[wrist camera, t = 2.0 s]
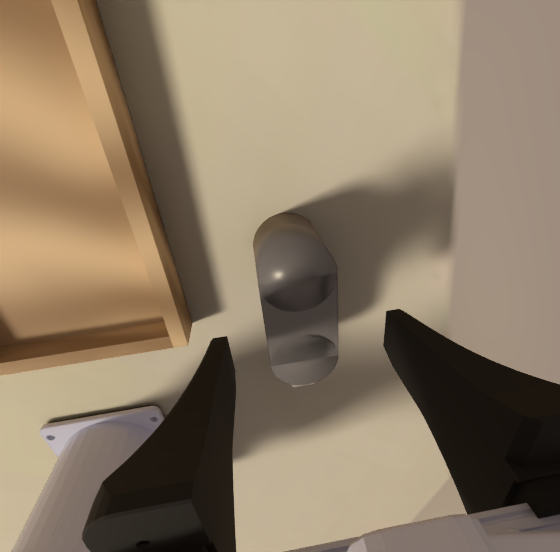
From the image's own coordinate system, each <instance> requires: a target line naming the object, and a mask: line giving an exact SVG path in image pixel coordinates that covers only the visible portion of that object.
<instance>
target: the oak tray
mask: <svg viewBox="0 0 560 552" xmlns="http://www.w3.org/2000/svg"><path fill="white" fill-rule="evenodd" d="M191 327H192V321H191V318H190V314H189V311H188V307H187V304H186V301H185V297H184V294H183V291H182V287H181V284H180V281H179V277H178V274H177V271H176V267H175V264H174V261H173V257H172V254H171V251H170V247H169V244H168V241H167V237H166V234H165V230H164V227H163V224H162V220H161V217H160V214H159V210H158V207H157V204H156V200H155V197H154V194H153V190H152V187H151V184H150V180H149V177H148V174H147V170H146V167H145V164H144V160H143V157H142V154H141V150H140V147H139V143H138V140H137V137H136V133H135V130H134V127H133V123H132V120H131V117H130V113H129V110H128V107H127V103H126V100H125V97H124V93H123V90H122V87H121V83H120V80H119V77H118V73H117V70H116V67H115V63H114V60H113V56H112V53H111V50H110V46H109V43H108V40H107V36H106V33H105V30H104V26H103V23H102V20H101V16H100V13H99V10H98V6H97V3H96V0H0V375H6V374H13V373H19V372H25V371H31V370H37V369H44V368H50V367H56V366H62V365H68V364H75V363H81V362H87V361H93V360H99V359H106V358H112V357H118V356H124V355H130V354H137V353H143V352H149V351H155V350H161V349H168V348H174V347H180V346H186V345H188V343H189V337H190V332H191Z"/></svg>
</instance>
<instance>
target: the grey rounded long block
mask: <svg viewBox="0 0 560 552" xmlns="http://www.w3.org/2000/svg"><path fill="white" fill-rule="evenodd" d="M253 248H254V256H255V263H256V271H257V278H258V286H259V292H260V299H261V305H262V312H263V318H264V324H265V331H266V337H267V344H268V350H269V357H270V363H271V368H272V371H273V373H274V375H275V376H276V377H277V378H278V379H279V380H281V381H283V382H285V383H287V384H291V385H292V388H293V387H299V386H304V385H310V384H314V383H315V382H317V381H320V380H321V379H323V378H325V377H326V376H327V375H329V374H330V373H331V372H332V370H333V369H334V367H335V366H336V364H337V361H338V277H337V266H336V263H335V260H334V259H333V257H332V255H331V254H330V252H329V251H328V249H327V248H326V246H325V244H324V243H323V241H322V240H321V238H320V237H319V235H318V234H317V232H316V231H315V229H314V227H313V226H312V225H311V223H310V222H309V221H308V220H307V219H305V218H304V217H302V216H300V215H297V214H293V213H282V214H277V215H274V216H272V217H270V218H268V219H267V220H266V221H264V222H263V223H262V224H261V225H260V227H259V228H258V230H257V232H256V234H255V237H254V241H253Z"/></svg>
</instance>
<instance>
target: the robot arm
mask: <svg viewBox="0 0 560 552" xmlns="http://www.w3.org/2000/svg"><path fill="white" fill-rule="evenodd" d="M384 348H385V350H386V353H387V355H388V357H389V359H390V361H391V363H392V366H393V367H394V369H395V371H396V372H397V374H398V375H399V377H400V379H401V380H402V382H403V384H404V385H405V387H406V388H407V390H408V392H409V393H410V395H411V396H412V398H413V400H414V401H415V403H416V404H417V406H418V408H419V409H420V411H421V413H422V415H423V416H424V418H425V420H426V422H427V424H428V426H429V428H430V430H431V432H432V434H433V436H434V438H435V441H436V443H437V445H438V447H439V449H440V451H441V453H442V456H443V458H444V460H445V462H446V464H447V467H448V469H449V471H450V474H451V476H452V478H453V480H454V483H455V485H456V487H457V490H458V492H459V495H460V497H461V500H462V502H463V505H464V507H465V510H466V512H467V514H468V515H466V514H459V515H448V516H444V517H438V518H433V519H428V520H423V521H419V522H413V523H408V524H403V525H398V526H393V527H389V528H384V529H379V530H376V531H372V532H369V533H366V534H363V535H362V536H360V537H355V538H350V539H345V540H340V541H335V542H330V543H325V544H320V545H315V546H310V547H305V548H300V549H295V550H290V551H285V552H560V385H559V384H556V383H552V382H549V381H546V380H543V379H540V378H536V377H533V376H531V375H528V374H525V373H522V372H519V371H516V370H514V369H511V368H509V367H506V366H504V365H501V364H499V363H496V362H494V361H491V360H489V359H487V358H485V357H482V356H480V355H478V354H476V353H474V352H472V351H470V350H468V349H466V348H464V347H462V346H460V345H458V344H457V343H455V342H453V341H451V340H449V339H448V338H446V337H444V336H442V335H441V334H439V333H437V332H436V331H434V330H432V329H431V328H429V327H428V326H426V325H424V324H423V323H421V322H420V321H418V320H417V319H415V318H413V317H412V316H410V315H409V314H407V313H405V312H404V311H402V310H400V309H397V310H390V311H386V323H385V334H384ZM235 399H236V381H235V368H234V364H233V360H232V356H231V351H230V347H229V343H228V339H227V336H226V337H219V338H213V339H212V340H211V342H210V345H209V347H208V349H207V351H206V353H205V356H204V358H203V360H202V362H201V364H200V365H199V367H198V369H197V371H196V373H195V375H194V376H193V378H192V380H191V381H190V383H189V385H188V386H187V388H186V390H185V391H184V393H183V394H182V396H181V397H180V399H179V400H178V402H177V403H176V405H175V406H174V407H173V409H172V410H171V411H170V413H169V414H168V415H167V416H166V418H165V419H164V417H163V415H162V413H161V410H160V409H159V408H158V407H157V406H148V407H142V408H136V409H130V410H124V411H119V412H113V413H107V414H101V415H95V416H90V417H84V418H78V419H72V420H66V421H61V422H55V423H49V424H45V425H43V426H42V427H41V429H40V431H39V433H40V435H41V436H42V437H43V439H44V440H45V441H46V442H47V444H48V445H49V446H50V448H51V449H52V450H53V452H54V453H55V454H56V455H57V457H58V459H57V461H56V463H55V465H54V467H53V469H52V471H51V473H50V475H49V477H48V479H47V481H46V483H45V485H44V487H43V489H42V491H41V493H40V495H39V497H38V499H37V501H36V503H35V505H34V507H33V509H32V511H31V513H30V515H29V517H28V519H27V521H26V523H25V525H24V527H23V529H22V531H21V533H20V535H19V537H18V539H17V541H16V543H15V545H14V547H13V549H12V551H11V552H236V540H235V519H234V495H233V461H232V445H233V428H234V414H235Z"/></svg>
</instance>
